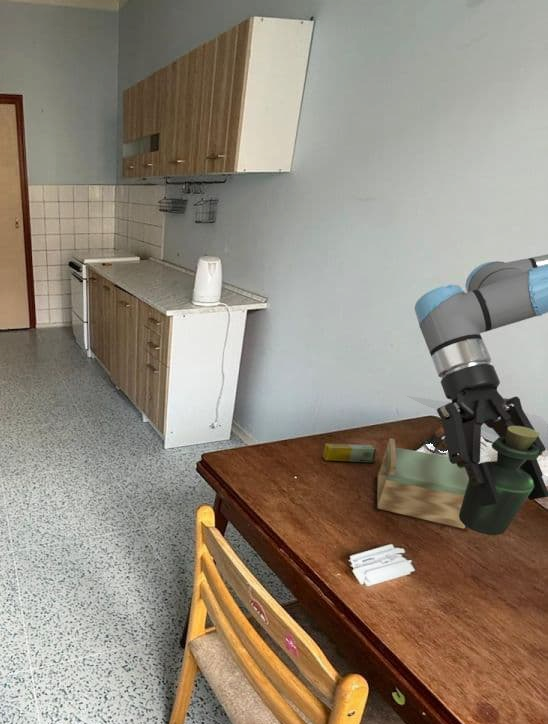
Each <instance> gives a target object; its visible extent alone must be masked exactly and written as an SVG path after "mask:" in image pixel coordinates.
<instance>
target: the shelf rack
mask: <svg viewBox="0 0 548 724" xmlns="http://www.w3.org/2000/svg"><path fill="white" fill-rule="evenodd" d="M468 481H469V476H468V474H467V472H466V469H465V467H463V468H459V467H458V466H457V463H456V464H452V463H451V462H450V460H449V456H445V455H441V454H434V453H428V452H423V451H417V450H412V449H407V448H401V447H397V446H396V440H395V438H391V437H390V438H389V439H388V443H387V446H386V449H385V453H384V456H383V459H382V462H381V465H380V469H379V471H378V475H377V487H376V488H377V495H376V496H377V500H376V502H377V505H376V506H377V507H376V509H379V510H383V511H387V512H391V513H396V514H400V515H404V516H408V517H413V518H416V519H421V520H425V521H429V522H434V523H438V524H442V525H447V526H451V527H456V528H458V529H459V528H460V529H464V530H465V528H466V526H465V525H464V524H463V523H462V522H461V521H460V519H459V513H460V509H461V506H462V502H463V499H464V495H465V491H466V488H467V484H468Z"/></svg>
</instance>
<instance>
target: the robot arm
mask: <svg viewBox="0 0 548 724" xmlns="http://www.w3.org/2000/svg"><path fill="white" fill-rule="evenodd" d="M464 286H465V290H463V289H462V287H461V286H460V285H458V284H448V285H446V286H439V287H436V288H434V289H432V290H430V291H428V292H426V293H425V294H422V295H421V296H420V297H419V299H417V301H416V303H415V304H414V312H415V316H416V319H417V322H418V326H419V328H420V331H421V334H422V337H423V339H424V341H425V344H426V346H427V349H428V353H429V354H430V357H431V360H432V362H433V365H434V368H435V370H436V373H437V376H438V377H439V378H441V380H440V384H441V387H442V390H443V393H444V395H445V398H446V399H447V400H450V401H451V402H448V403H447V404H446V403H445V404H444V405H442V406H440V407H438V408H436V413H437V414H438V416H439V418H440V420H441V422H442V423H441V424H442V427H443V428H444V434H445V436H444V437H445V439H446V444H447V450H448V453H447V454H448V457H449V460H450V462H451V463H452V464H456V463H457V466H458V467H459V468H463V467H465V469H466V472H467V474H468V476H469V480H470V483H471V484H472V485H474V486H475V489H476V492H477V494H478V497H479V500H480V503H481V505H482V506H487V505H492V504H498V503H501V501H500V498H499V495H498V493H497V490H496V488H495V485H494V482H493V480H492V477H491V474H490V472H489V469H488V466H487V464H486V463H482V462H481V443H482V442H481V440H482V426H483V424H485V426H486V427H488V428H489V429H492V430H493V432H495V433H496V434H497V436H498V438H499V437H506V435H507V428H508V427H509V426H521V427H526V428H530V429H532V430H535V428H534V427H533V425H532V423H531V421H530V420H529V417H527V414H526V412H525V411H524V410H523V406H522V403H521V398H520V397H518V396H513V397H511V398H504V397H503V396H502V395H501V394H500V393H499V391H498V388H499V386H500V384H501V381H500V379H499V376H498V374H497V373H498V372H497V370H496V369H495V366H494V365H492V364H491V362H492V358H491V356H490V353H489V351H488V348H487V345H486V343H485V342H484V340H483V338H482V336H481V334H483V333H485V332H486V333H487V332H489V331H492V330H495V329H499V328H503V327H505V326H508V325H511V324H516V323H519V322H522V321H526V320H529V319H531V318H535V317H541V316H543V315H544V314H547V313H548V253H547V254H543V255H542V254H541V255H538V256H533V257H532V256H531V257H528V258H523V259H522V258H521V259H517V260H512V261H507V262H505V261H498V260H497V261H488V262H484V263H482V264H480V265H478V266H476V267H475V268H474V269H473V270H471V272H470V273H469V275H468V276H467V278H466V281H465V285H464ZM539 436H540V435H539ZM539 436H538V437H537V438H536V440H535V441H534V442H533V444H534V445H536V446H537V447H538V449H539V456H542V455H543V452H545V451H546V446H545V445H544V443H543V442H542V440H541V438H540V437H539ZM479 463H480V464H479ZM520 468H521V469H522V470H524V471H525V472H526V473H528V474H529V475H530V476H531V477H532V479H533V482H534V486H535V487H534V488H533V490H532V491H531V493H530V494H529V496H528V497H527V499H528V500H529V501H533V500H538V499H544V498H548V488H547V485H546V483H545V480H544V478H543V471H542V469H541V467H540V464H539V461H538V458H537V459H533V460H526V461H525V462H524V463H523V464H522V465H521V466H520Z"/></svg>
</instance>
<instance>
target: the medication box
mask: <svg viewBox="0 0 548 724" xmlns="http://www.w3.org/2000/svg"><path fill="white" fill-rule="evenodd" d="M376 451H377V447H375V446H374V445H372V444H354V443H353V444H350V443H325V444H324V449H323V454H322V458H323V459H324V460H325V461H329V462H331V461H332V462H351V463H352V462H353V463H354V462H355V463H372V464H374V461H375V460H374V459H375V455H376Z"/></svg>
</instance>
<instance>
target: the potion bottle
mask: <svg viewBox="0 0 548 724" xmlns="http://www.w3.org/2000/svg"><path fill="white" fill-rule="evenodd" d="M538 436H540V434H539V432H538V431H536V429H534V430H532V429H530V428H526V427H521V426H509V427H508V428H507V435H506V437H499V436H498V437H497V438H496V439H495V440H494V442H492V444H491V448H492V449H493V450H494V451H496V452H497V457H496V460H492V461H483V462H479V463H478V464H480V463H486V464H487V466H488V469H489V472H490V474H491V477H492V480H493V482H494V485H495V488H496V490H497V493H498V495H499V498H500V501H501V503H498V504H492V505H487V506H482V505H481V503H480V500H479V497H478V494H477V492H476V489H475V486H474V485H472V484H471V483H470V480H469V481H468V484H467V488H466V491H465V495H464V499H463V502H462V506H461V509H460V513H459V519H460V521H461V522H462V523H463V524H464V525H465V528H468V529H469V530H471V531H474V532H476V533H478V534H482V535H486V536H499V535H503V534H505V532H506V531H507V529H508V528H509V526H510V525H511V523H512V522H513V520H514V519H515V517H516V516H517V514H518V513H519V511H520V509H521V508H522V506H523V505H524V503H525V502H526V500H527V499H528V496H529V494H530V493H531V491H532V490H533V488H534V487H535V486H534V482H533V479H532V477H531V476H530V475H529V474H528V473H526V472H525V471H524V470H522V469H521V468H520V466H521V465H522V464H523V463H524V462H525V461H526V460H533V459H537V460H538V458H539V457H540V455H539V449H538V447H537V446H536V445H534V444H533V442H534V441H535V440H536V438H537V437H538Z"/></svg>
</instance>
